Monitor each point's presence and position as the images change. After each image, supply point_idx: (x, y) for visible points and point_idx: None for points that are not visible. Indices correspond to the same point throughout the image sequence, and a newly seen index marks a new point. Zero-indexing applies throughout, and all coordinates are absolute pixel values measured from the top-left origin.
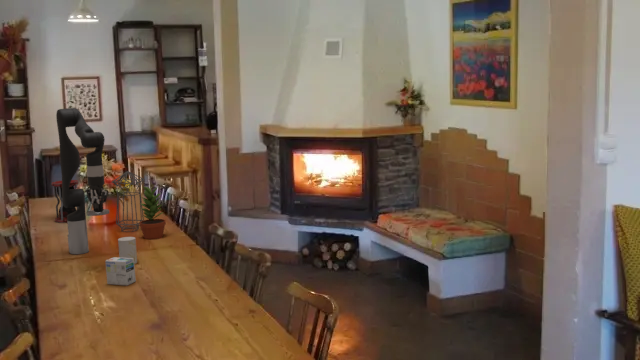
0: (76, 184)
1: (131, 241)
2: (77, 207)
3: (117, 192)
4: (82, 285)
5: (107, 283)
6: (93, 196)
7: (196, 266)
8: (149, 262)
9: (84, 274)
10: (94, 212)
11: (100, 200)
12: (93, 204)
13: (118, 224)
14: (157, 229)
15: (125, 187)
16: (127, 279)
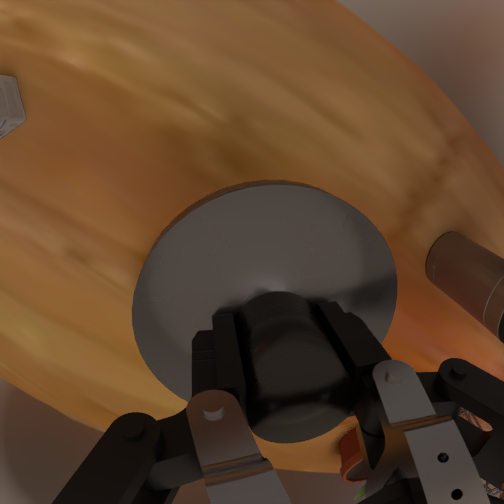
0: None
1: None
2: None
3: None
4: (73, 11)
5: (14, 77)
6: (405, 472)
7: (2, 350)
8: (127, 318)
9: (189, 77)
10: (238, 251)
11: (145, 453)
12: (362, 353)
13: (463, 411)
14: (345, 457)
15: (485, 485)
16: None
